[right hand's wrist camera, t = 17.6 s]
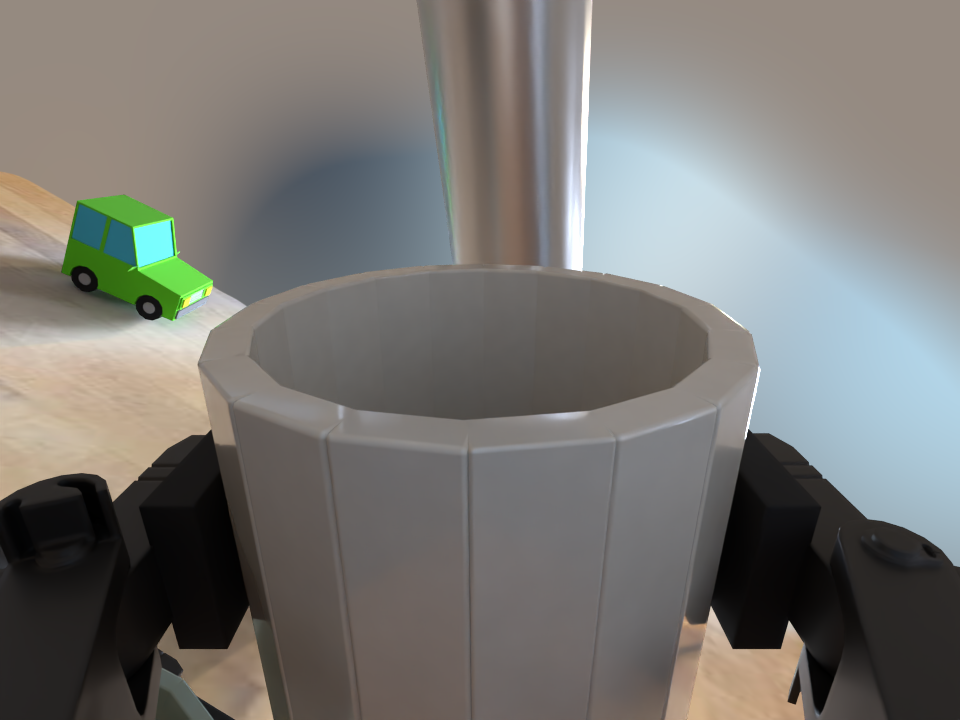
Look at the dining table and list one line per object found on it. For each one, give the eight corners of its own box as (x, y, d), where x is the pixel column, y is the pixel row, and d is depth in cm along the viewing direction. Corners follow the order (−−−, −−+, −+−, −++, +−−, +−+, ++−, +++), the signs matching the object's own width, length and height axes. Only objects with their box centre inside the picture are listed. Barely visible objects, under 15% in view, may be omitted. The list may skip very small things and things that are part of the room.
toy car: (167, 334, 63) (191, 258, 59) (52, 283, 61) (70, 201, 57) (209, 310, 72) (232, 243, 69) (111, 265, 70) (129, 194, 67)
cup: (438, 566, 17) (425, 251, 14) (699, 687, 13) (784, 293, 10) (214, 806, 11) (75, 344, 7) (582, 1162, 7) (694, 571, 3)
